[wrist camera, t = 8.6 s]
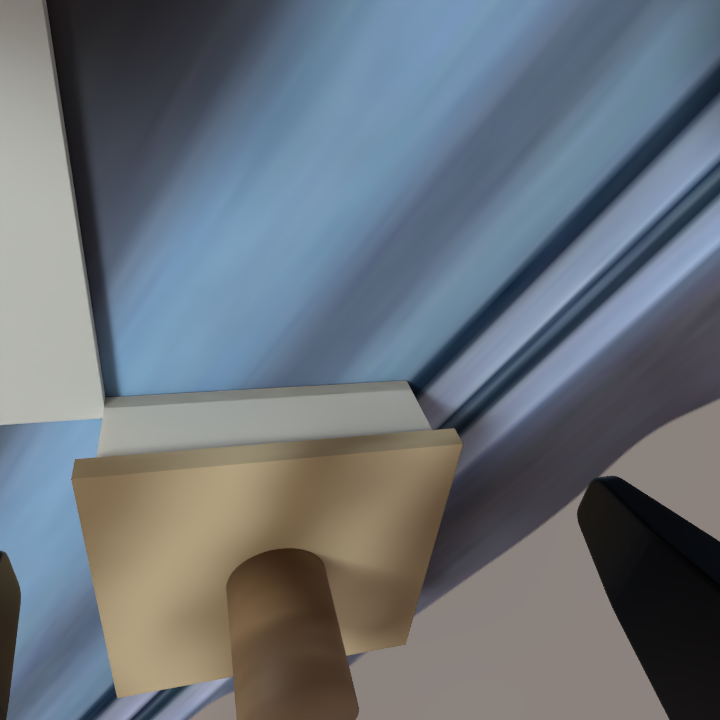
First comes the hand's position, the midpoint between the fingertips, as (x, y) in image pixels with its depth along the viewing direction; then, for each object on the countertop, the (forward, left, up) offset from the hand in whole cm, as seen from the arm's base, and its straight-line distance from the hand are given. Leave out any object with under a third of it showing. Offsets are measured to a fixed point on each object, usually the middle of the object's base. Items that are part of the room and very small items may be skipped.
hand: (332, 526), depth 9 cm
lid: (-1, +12, -8) cm, 14 cm away
